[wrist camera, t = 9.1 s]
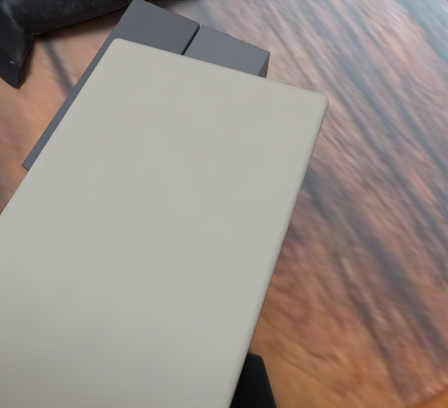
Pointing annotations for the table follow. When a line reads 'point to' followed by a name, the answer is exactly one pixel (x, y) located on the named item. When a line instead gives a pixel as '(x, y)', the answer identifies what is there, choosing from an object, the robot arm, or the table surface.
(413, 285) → the table surface
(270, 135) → the book
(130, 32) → the grey box
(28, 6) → the orca plush
